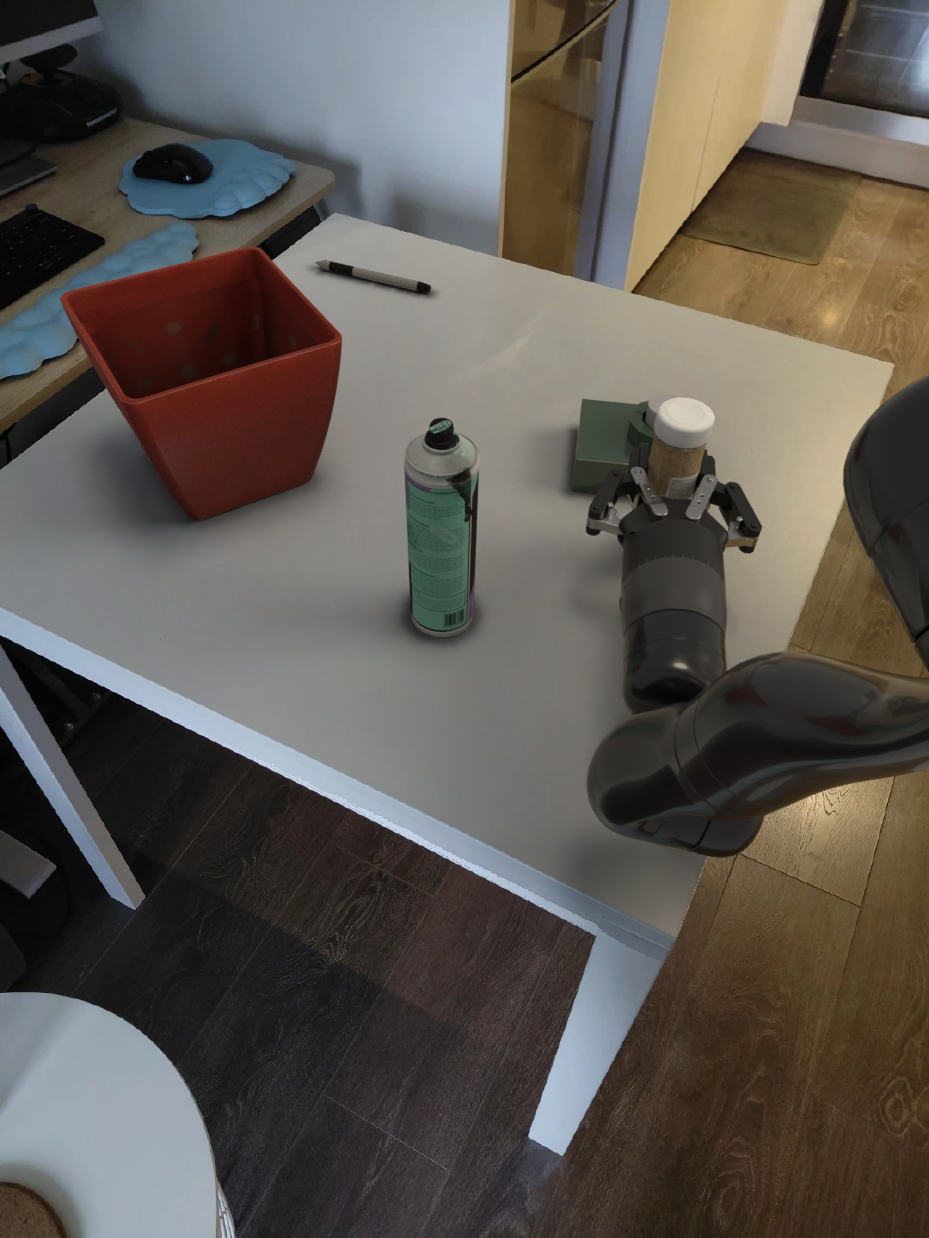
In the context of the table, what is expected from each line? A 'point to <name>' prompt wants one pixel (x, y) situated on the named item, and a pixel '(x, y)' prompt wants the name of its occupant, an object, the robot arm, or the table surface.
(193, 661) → the table surface
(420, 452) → the spray can
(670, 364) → the table surface
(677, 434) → the sprinkles bottle
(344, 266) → the pen
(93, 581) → the table surface
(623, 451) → the push button box
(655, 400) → the grey short cylinder
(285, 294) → the flower pot
